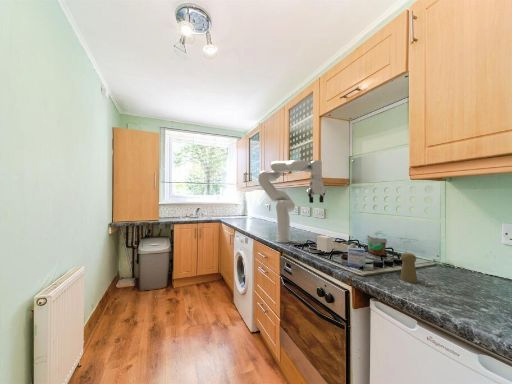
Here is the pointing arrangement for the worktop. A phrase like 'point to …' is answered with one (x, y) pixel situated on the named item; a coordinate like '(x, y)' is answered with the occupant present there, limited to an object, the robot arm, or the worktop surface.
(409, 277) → the cork
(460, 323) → the worktop surface
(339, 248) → the price rail
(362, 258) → the medicine box
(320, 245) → the cream carton
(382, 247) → the food container
